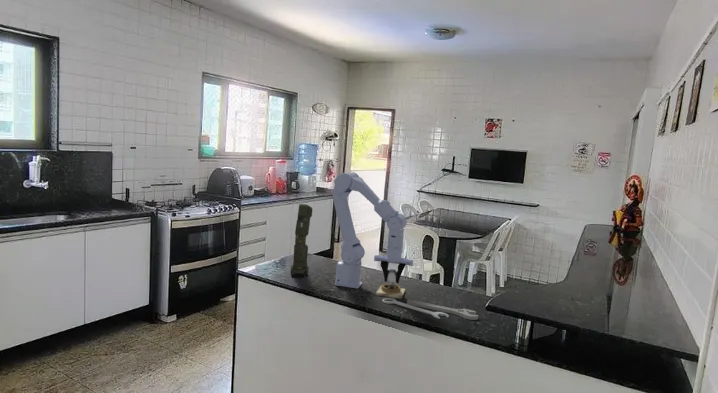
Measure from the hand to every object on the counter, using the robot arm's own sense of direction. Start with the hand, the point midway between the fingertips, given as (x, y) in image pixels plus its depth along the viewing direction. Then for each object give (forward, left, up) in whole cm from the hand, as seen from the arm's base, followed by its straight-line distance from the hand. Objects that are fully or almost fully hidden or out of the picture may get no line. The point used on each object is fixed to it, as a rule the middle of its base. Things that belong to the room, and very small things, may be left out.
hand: (391, 281), depth 174 cm
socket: (0, 0, -4) cm, 4 cm away
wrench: (+10, -13, -5) cm, 18 cm away
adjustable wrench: (+20, -10, -5) cm, 23 cm away
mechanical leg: (-39, +8, -5) cm, 41 cm away
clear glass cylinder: (0, 0, -3) cm, 3 cm away
